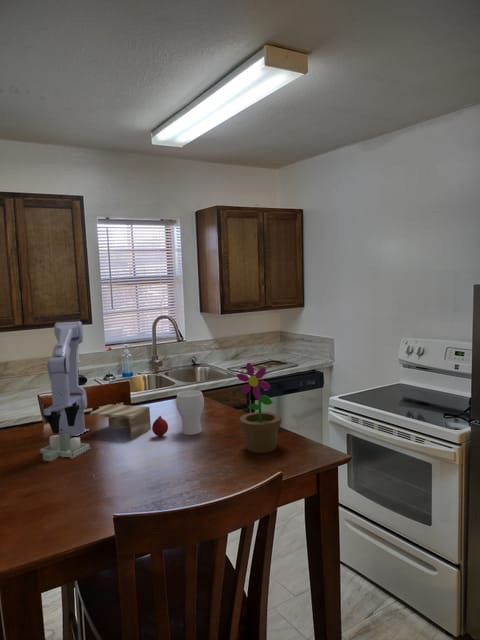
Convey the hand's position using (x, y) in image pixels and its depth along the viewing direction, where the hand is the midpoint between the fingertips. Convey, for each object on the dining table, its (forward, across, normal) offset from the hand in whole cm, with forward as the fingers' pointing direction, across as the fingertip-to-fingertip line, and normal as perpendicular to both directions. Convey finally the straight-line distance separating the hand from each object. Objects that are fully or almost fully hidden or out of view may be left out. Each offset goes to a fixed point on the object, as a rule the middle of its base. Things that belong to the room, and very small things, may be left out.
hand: (63, 429), depth 159 cm
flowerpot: (+8, +20, -66) cm, 69 cm away
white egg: (+8, 0, -4) cm, 9 cm away
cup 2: (+8, +29, -35) cm, 46 cm away
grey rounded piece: (+8, 0, +4) cm, 9 cm away
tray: (+8, -2, 0) cm, 8 cm away
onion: (+8, +21, -26) cm, 34 cm away
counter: (+8, +22, -8) cm, 25 cm away
